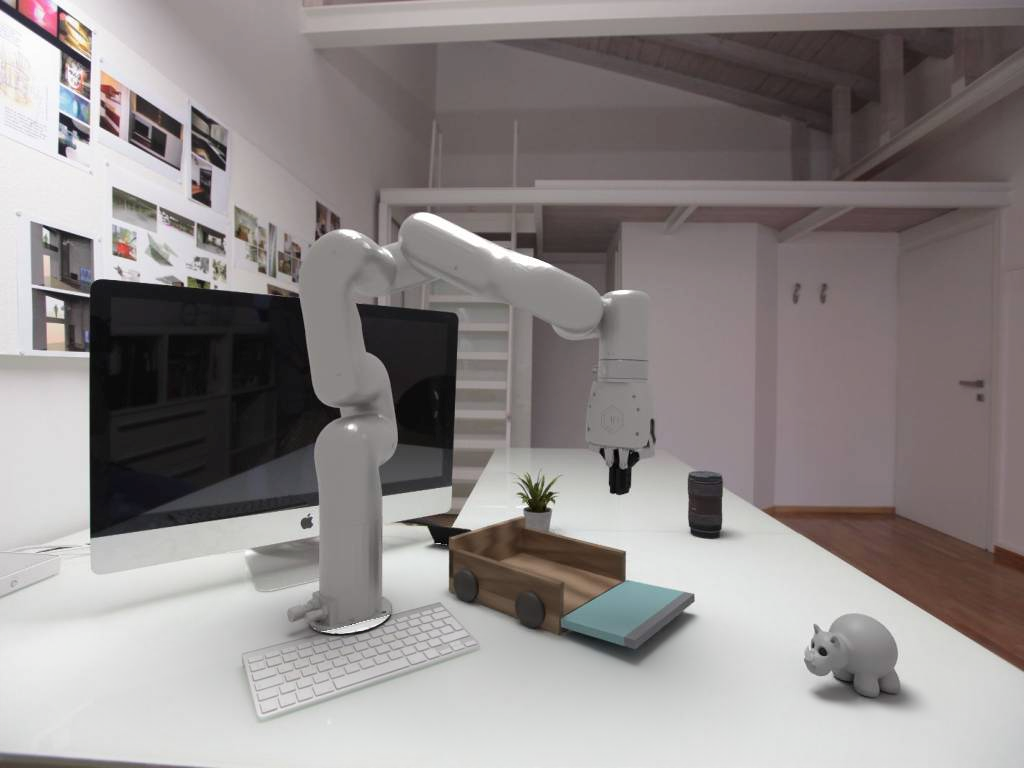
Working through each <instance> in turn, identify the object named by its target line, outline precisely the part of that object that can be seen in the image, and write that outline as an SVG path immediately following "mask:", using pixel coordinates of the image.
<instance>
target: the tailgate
mask: <svg viewBox="0 0 1024 768" xmlns="http://www.w3.org/2000/svg"><path fill="white" fill-rule="evenodd" d="M695 598H696V597H695V593H692V592H686V591H682V590H677V589H672V588H667V587H663V586H658V585H653V584H649V583H643V582H639V581H635V580H629V579H626V581H625V582H623V583H621V584H619V585H618V586H616V587H614V588H613V589H611V590H609V591H607V592H606V593H604V594H602V595H601V596H599V597H597V598H595V599H594V600H592V601H590V602H588V603H587V604H585V605H583V606H582V607H580V608H578V609H576V610H575V611H573V612H571V613H570V614H568V615H566V616H564V617H563V618H561V627H563V628H566V629H568V630H570V631H573V632H576V633H580V634H583V635H587V636H590V637H594V638H597V639H600V640H604V641H606V642H610V643H613V644H615V645H616V644H617V645H618V646H619V645H620V646H623V647H627V648H630V649H631V650H632V649H633V650H636V649H638V648H639V647H640V646H641V645H643V644H644V643H645V642H646V641H648V640H649V639H650V638H652V637H653V636H654V635H655V634H657V632H659V631H660V630H661V629H663V628H664V627H665V626H666V625H668V624H669V623H670V622H671V621H672V620H674V619H675V618H676V617H678V616H679V615H680V614H681V613H683V612H684V611H685V610H686V609H688V608H689V607H690V606H692V604H694V603H695V601H696V600H695Z"/></svg>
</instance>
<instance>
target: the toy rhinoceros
mask: <svg viewBox="0 0 1024 768" xmlns="http://www.w3.org/2000/svg"><path fill="white" fill-rule="evenodd" d="M813 630H814V631H813V632H814V633H813V637H812V638H811V641H810V647H809V645H806V647H805V649H804V658H803V661H804V664H805V667H806V669H807V670H808V672H810V674H813V675H815V676H817V677H825V676H828V675H829V674H830V673H831V672H832V675H833V676H834V677H835V678H836V679H838V680H842V681H845V682H853V687H854V689H855V691H856V692H857V693H858V694H859V695H862V696H863V697H868V698H869V697H870V698H877V697H878V696H879V695H880V691H882V692H885V693H889V694H897V693H899V691H900V690H901V682H900V681H901V680H900V677H899V675H898V673H897V671H896V669H895V667H896V665H897V662H898V658H899V650H898V645H897V643H896V640H895V638H894V636H893V634H892V633H891V632H890V630H889V629H888V628H887V627H886V626H885V625H884V624H883V623H881V622H880V621H879V620H878V619H876V618H873V617H872V616H869V615H866V614H863V613H857V612H856V613H854V612H853V613H845V614H843V615H840V616H839V617H837V618H836V619H835V620H834V621H833V622H832V623H831V625H830V627H829V629H828V631H823V630H822V629H821V628H820V626H819V625H818V624H816V623H813Z"/></svg>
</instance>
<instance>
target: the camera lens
mask: <svg viewBox="0 0 1024 768" xmlns="http://www.w3.org/2000/svg"><path fill="white" fill-rule="evenodd" d="M723 492H724V479H723V476H722V474H721V473H719V472H715V471H707V470H695V471H690V472H688V476H687V494H688V504H687V505H688V509H687V519H688V527H689V529H690V531H689V532H690V534H691V535H693V536H696V537H698V538H704V539H716V538H719V537H720V535H721V530H722V527H723V496H724V494H723Z"/></svg>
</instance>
